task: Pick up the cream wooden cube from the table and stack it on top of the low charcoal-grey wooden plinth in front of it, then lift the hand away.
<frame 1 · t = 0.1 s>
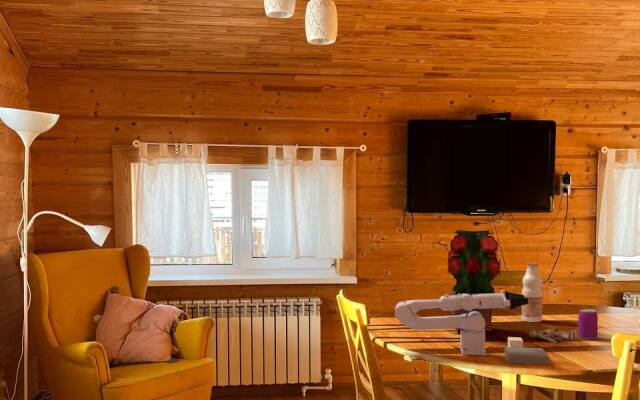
hand: (526, 299, 248), 22 cm above the table, tool horizontal, fingers open, 7 cm apart
potted plant: (472, 331, 289), on the table
figurine: (551, 341, 270), on the table
beverage can: (587, 338, 276), on the table
plinth: (526, 359, 242), on the table
cube: (515, 351, 254), on the table
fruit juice: (531, 320, 311), on the table
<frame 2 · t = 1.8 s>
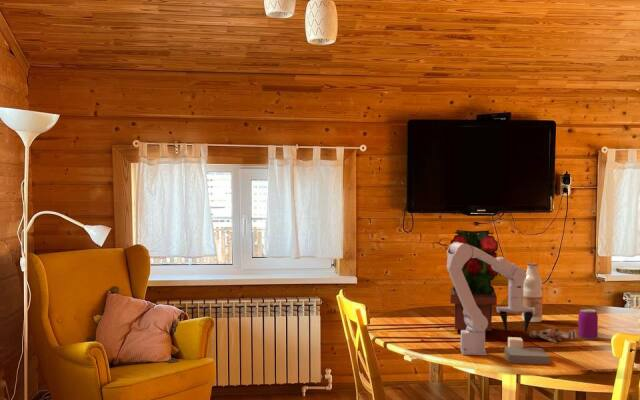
hand: (515, 330, 254), 8 cm above the table, tool pointing down, fingers open, 7 cm apart
nothing on the table moved.
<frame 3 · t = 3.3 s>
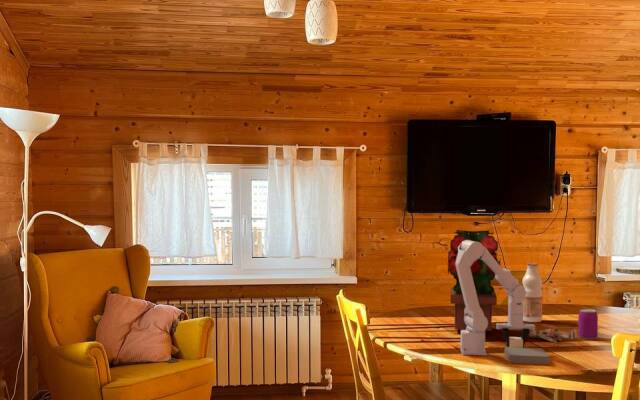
hand: (515, 347, 254), 1 cm above the table, tool pointing down, fingers closed on cube, 5 cm apart
cube: (515, 351, 254), on the table, touching gripper
everything else where it was.
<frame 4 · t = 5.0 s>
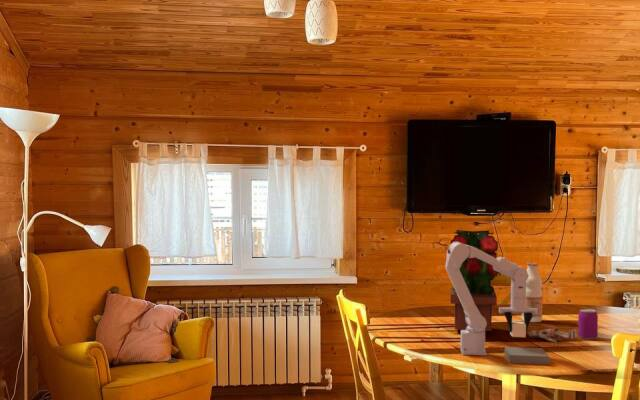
hand: (517, 331, 251), 8 cm above the table, tool pointing down, fingers closed on cube, 5 cm apart
cube: (517, 335, 251), point 7 cm above the table, touching gripper
everything else where it was.
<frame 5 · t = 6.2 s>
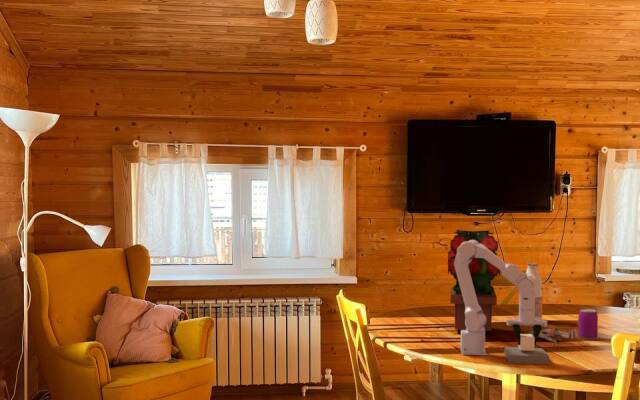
hand: (526, 344, 242), 6 cm above the table, tool pointing down, fingers closed on cube, 5 cm apart
cube: (526, 348, 242), point 4 cm above the table, touching gripper
everything else where it was.
when the fingers open (5 cm above the table, at t = 7.1 s): cube stays where it is, resting on plinth.
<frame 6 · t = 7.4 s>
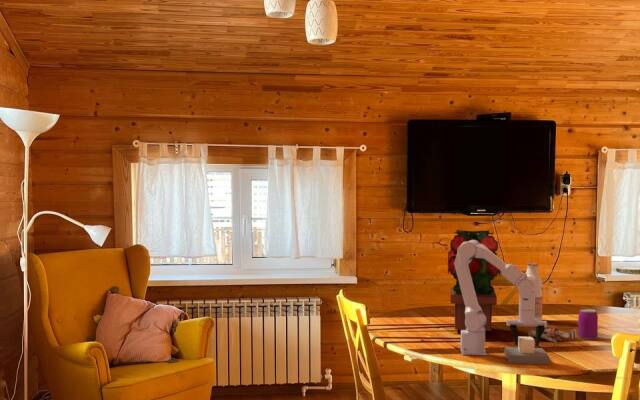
hand: (526, 345, 242), 5 cm above the table, tool pointing down, fingers open, 7 cm apart
cube: (526, 351, 242), point 3 cm above the table, touching plinth
everything else where it was.
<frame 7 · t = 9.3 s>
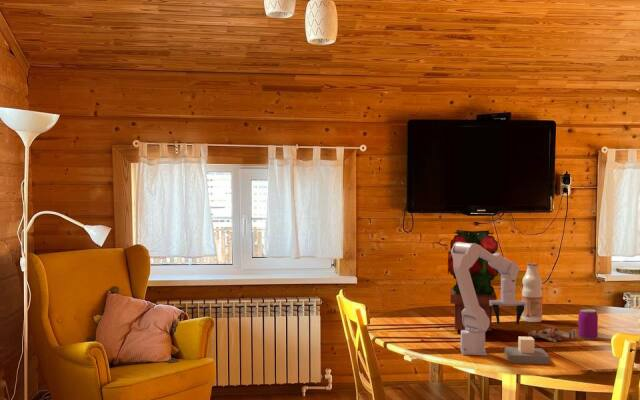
hand: (507, 323, 261), 9 cm above the table, tool pointing down, fingers open, 7 cm apart
nothing on the table moved.
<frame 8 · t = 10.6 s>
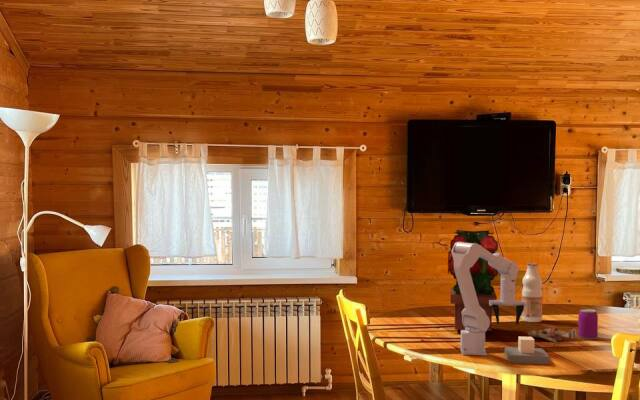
hand: (507, 323, 261), 9 cm above the table, tool pointing down, fingers open, 7 cm apart
at the end: cube inside the target area on the plinth (0.3 cm from its centre), point 3.0 cm above the plinth's base; cube tilted 0°; the gripper is holding nothing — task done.
